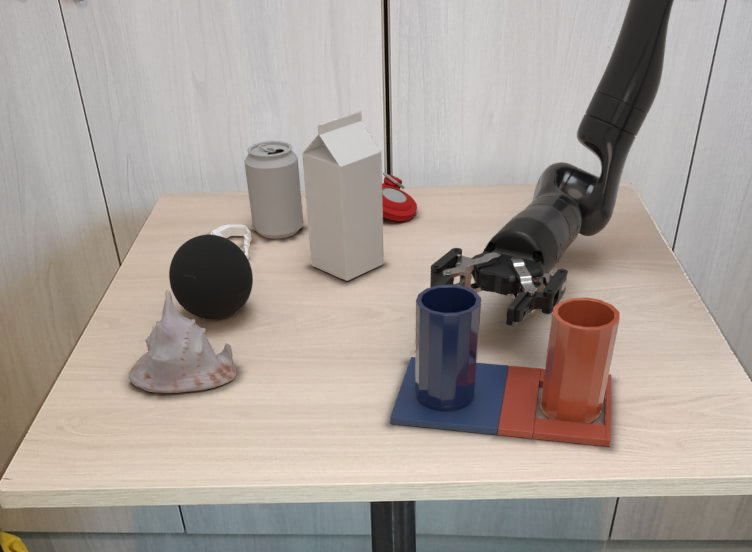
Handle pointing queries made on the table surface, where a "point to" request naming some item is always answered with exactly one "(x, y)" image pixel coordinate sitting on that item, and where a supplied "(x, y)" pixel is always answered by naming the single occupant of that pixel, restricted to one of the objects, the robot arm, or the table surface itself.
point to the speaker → (210, 277)
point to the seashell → (180, 357)
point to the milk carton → (344, 198)
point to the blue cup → (446, 346)
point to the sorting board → (500, 408)
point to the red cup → (578, 359)
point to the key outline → (235, 234)
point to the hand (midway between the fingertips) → (471, 308)
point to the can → (274, 189)
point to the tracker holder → (396, 200)
